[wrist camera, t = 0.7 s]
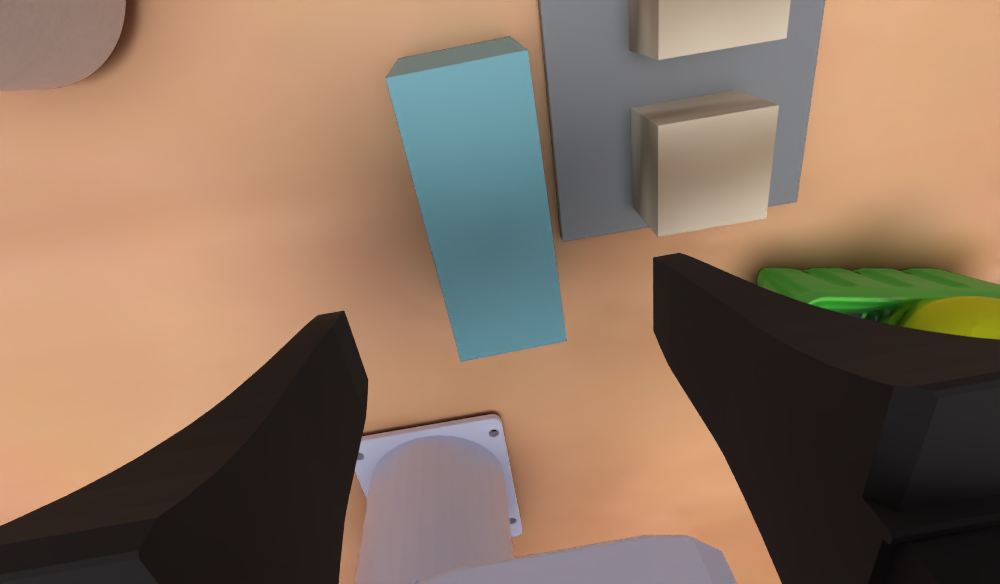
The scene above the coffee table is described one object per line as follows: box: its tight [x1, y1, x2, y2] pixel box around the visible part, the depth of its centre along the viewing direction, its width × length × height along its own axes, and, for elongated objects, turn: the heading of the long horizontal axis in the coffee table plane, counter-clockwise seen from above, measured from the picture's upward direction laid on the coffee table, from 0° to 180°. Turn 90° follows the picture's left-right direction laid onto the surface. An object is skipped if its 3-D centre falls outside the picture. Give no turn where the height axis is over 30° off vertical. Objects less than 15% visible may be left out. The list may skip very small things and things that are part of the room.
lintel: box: [386, 36, 567, 361], centre depth 19 cm, size 10×4×5 cm, turn 10°
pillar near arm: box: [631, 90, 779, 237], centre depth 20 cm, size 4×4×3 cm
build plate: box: [538, 0, 825, 242], centre depth 20 cm, size 12×10×1 cm
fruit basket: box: [757, 268, 1000, 339], centre depth 21 cm, size 11×9×11 cm
